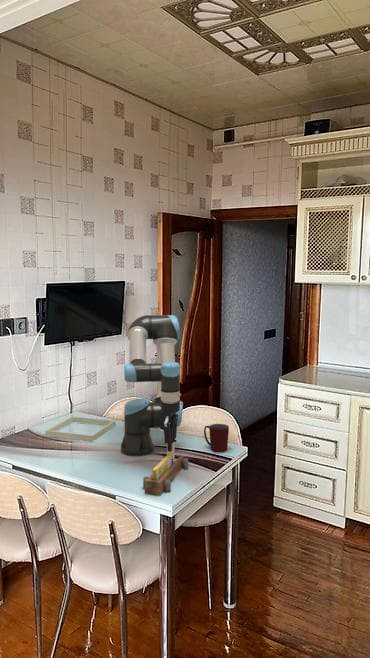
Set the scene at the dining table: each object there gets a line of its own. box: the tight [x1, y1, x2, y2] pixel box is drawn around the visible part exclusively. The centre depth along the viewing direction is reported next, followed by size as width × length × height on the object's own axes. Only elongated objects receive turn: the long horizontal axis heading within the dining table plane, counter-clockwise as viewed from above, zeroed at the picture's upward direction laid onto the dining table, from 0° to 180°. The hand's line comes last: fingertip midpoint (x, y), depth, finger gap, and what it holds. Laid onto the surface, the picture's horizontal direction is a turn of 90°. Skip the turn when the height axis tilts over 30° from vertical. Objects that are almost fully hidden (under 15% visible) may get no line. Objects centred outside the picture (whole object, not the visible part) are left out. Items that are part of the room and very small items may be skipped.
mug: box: [203, 423, 230, 453], centre depth 228 cm, size 12×9×11 cm
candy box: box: [151, 454, 172, 481], centre depth 193 cm, size 16×2×8 cm, turn 161°
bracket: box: [142, 455, 189, 497], centre depth 195 cm, size 11×28×5 cm, turn 163°
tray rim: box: [44, 415, 117, 443], centre depth 255 cm, size 26×26×3 cm
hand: (170, 458), depth 201 cm, fingers closed
